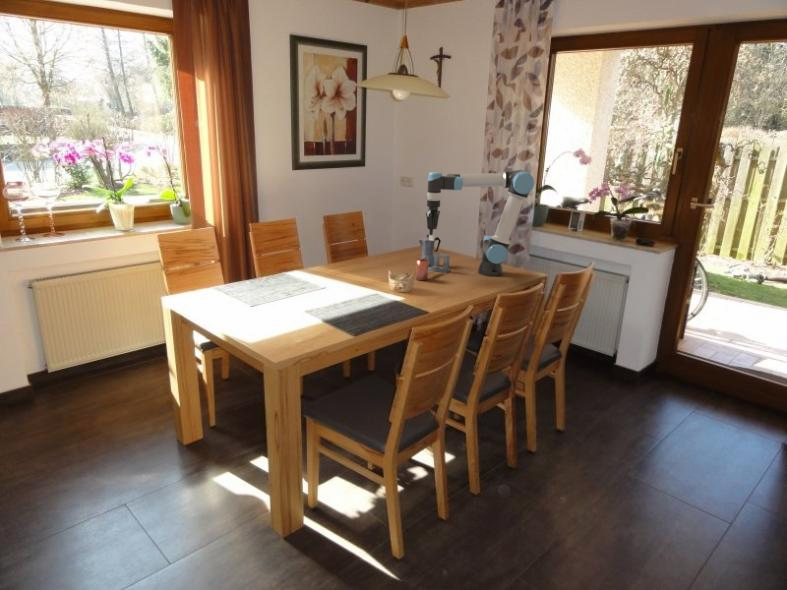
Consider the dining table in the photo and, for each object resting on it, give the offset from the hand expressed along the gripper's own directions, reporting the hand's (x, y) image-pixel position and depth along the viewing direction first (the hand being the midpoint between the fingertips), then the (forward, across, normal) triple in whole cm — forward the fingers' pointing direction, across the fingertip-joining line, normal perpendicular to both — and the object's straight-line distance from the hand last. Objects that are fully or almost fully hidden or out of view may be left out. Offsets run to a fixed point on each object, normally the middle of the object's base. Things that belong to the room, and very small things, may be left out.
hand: (431, 240), depth 323 cm
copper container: (+21, +2, 0) cm, 21 cm away
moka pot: (+22, -22, -13) cm, 34 cm away
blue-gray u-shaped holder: (+22, -15, 0) cm, 26 cm away
